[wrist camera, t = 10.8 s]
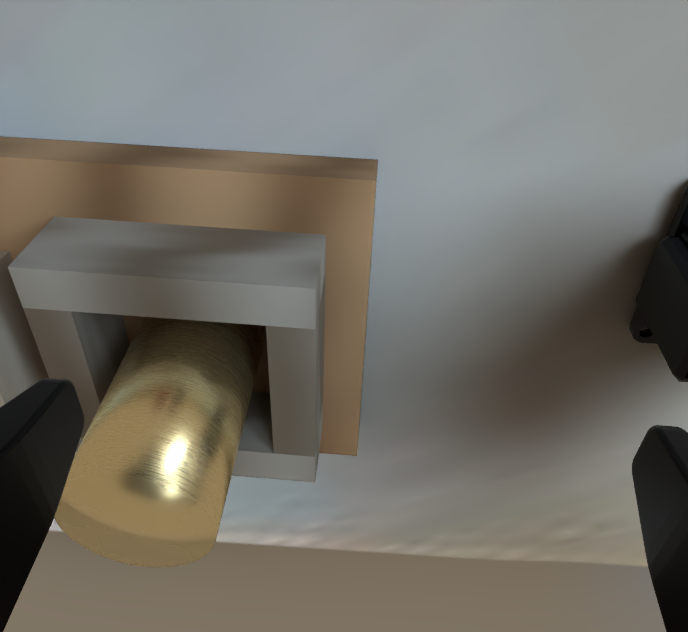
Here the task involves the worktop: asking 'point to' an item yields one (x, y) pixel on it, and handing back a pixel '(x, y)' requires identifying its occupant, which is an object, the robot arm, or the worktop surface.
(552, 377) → the worktop surface
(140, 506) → the cylinder
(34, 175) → the jig
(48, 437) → the robot arm
